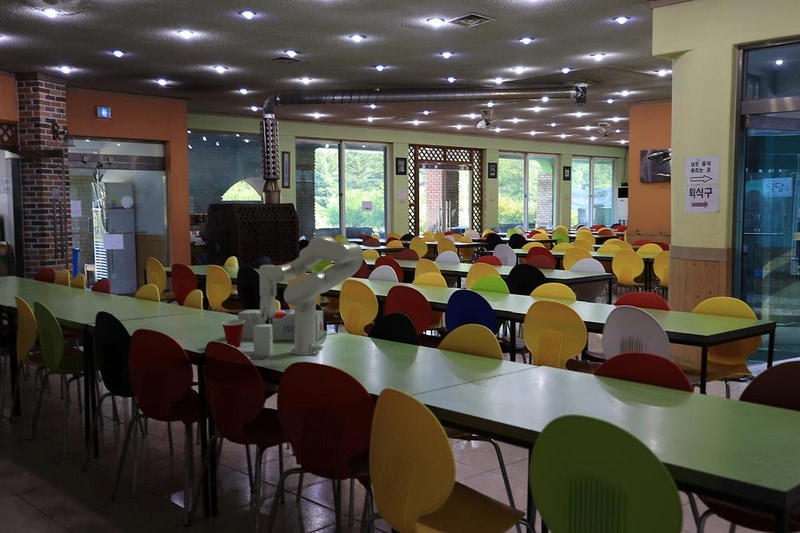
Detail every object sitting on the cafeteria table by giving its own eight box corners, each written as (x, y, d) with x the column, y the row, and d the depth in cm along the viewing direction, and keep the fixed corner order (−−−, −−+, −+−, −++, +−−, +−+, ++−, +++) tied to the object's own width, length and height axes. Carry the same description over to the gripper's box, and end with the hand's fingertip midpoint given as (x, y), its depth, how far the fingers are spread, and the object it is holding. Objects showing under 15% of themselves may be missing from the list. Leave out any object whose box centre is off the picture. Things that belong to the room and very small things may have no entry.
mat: (251, 355, 333) (251, 354, 333) (268, 355, 332) (268, 354, 332) (244, 359, 324) (244, 358, 324) (262, 359, 323) (262, 358, 323)
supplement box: (270, 355, 334) (269, 326, 333) (253, 355, 334) (252, 326, 333) (273, 351, 341) (272, 323, 340) (256, 351, 341) (256, 323, 340)
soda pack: (324, 337, 379) (324, 309, 378) (317, 341, 367) (317, 313, 365) (247, 335, 386) (246, 308, 385) (237, 339, 373) (236, 311, 372)
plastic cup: (216, 347, 351) (216, 321, 350) (232, 343, 361) (231, 318, 360) (235, 349, 346) (234, 323, 345) (250, 345, 356) (249, 320, 355)
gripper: (265, 290, 352) (265, 329, 353) (254, 293, 337) (255, 334, 338) (280, 290, 351) (281, 329, 352) (271, 294, 336) (272, 335, 337)
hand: (268, 332), depth 345 cm, fingers closed
